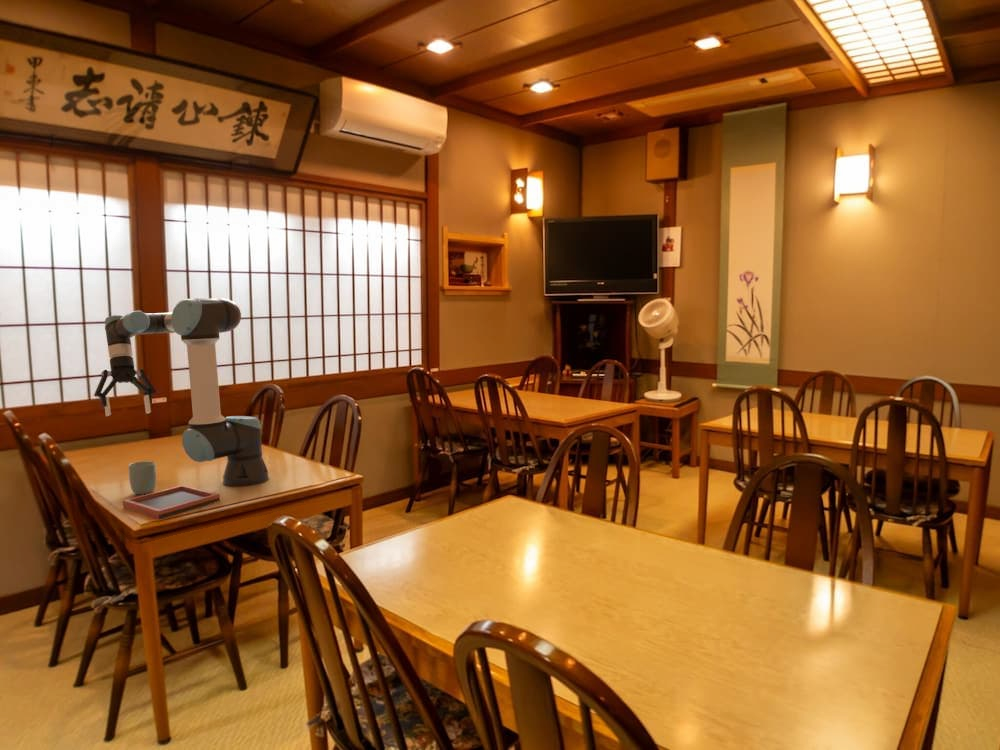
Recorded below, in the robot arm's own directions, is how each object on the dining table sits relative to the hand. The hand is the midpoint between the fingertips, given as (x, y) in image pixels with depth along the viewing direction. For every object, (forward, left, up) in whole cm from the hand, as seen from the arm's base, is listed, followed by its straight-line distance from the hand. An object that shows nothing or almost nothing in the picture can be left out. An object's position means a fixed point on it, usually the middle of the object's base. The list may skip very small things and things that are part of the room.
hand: (128, 414), depth 240 cm
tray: (-44, +11, -23) cm, 51 cm away
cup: (-24, +9, -23) cm, 35 cm away
